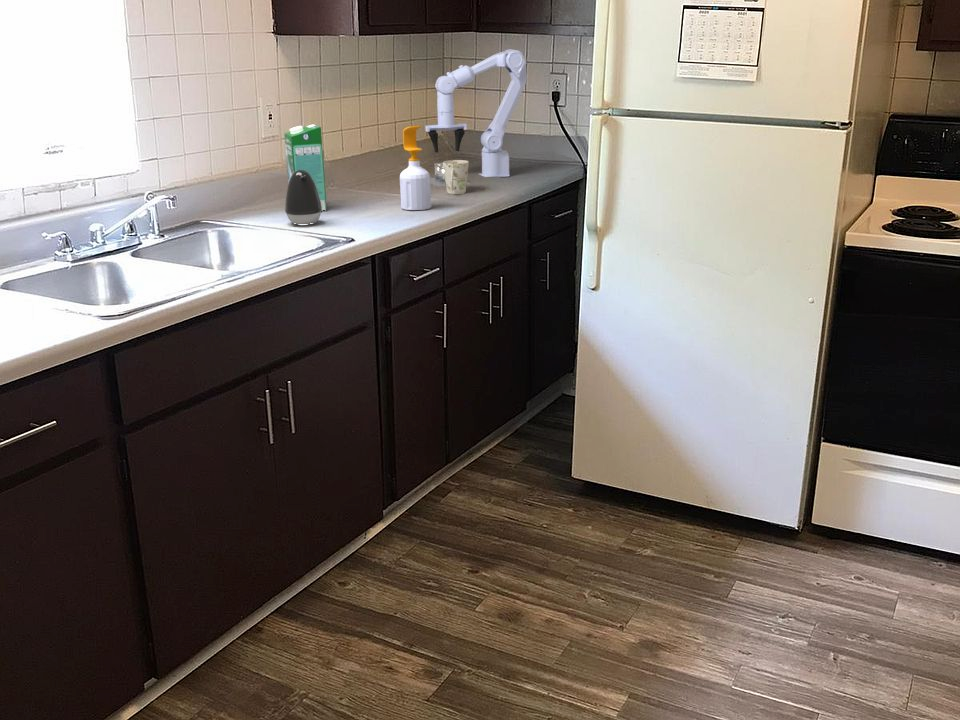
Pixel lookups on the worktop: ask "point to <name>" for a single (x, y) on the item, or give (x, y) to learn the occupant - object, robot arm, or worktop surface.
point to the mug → (456, 176)
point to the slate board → (438, 182)
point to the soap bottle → (414, 176)
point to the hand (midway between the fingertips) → (446, 151)
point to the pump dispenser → (302, 199)
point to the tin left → (437, 170)
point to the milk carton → (307, 155)
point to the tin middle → (441, 173)
